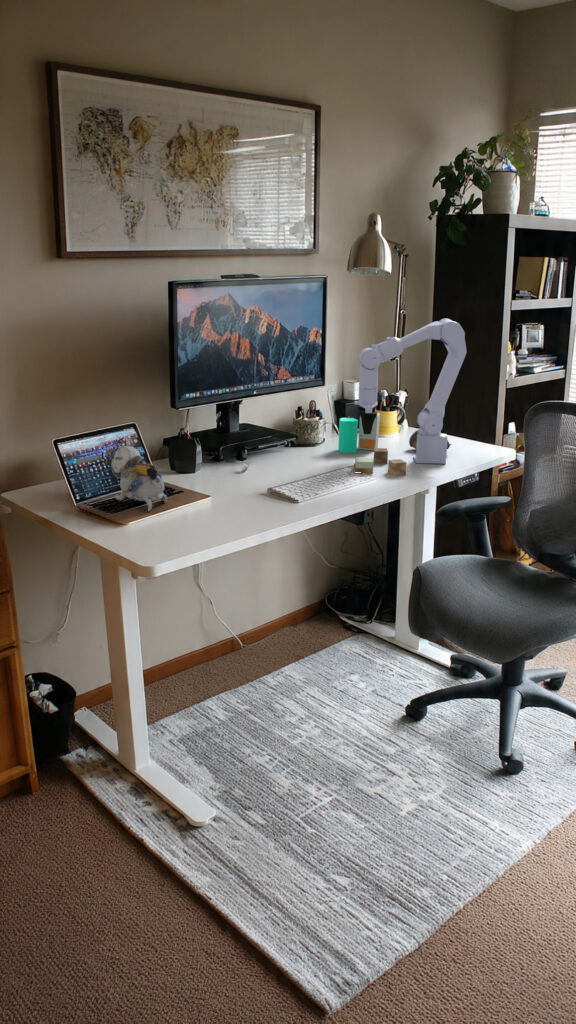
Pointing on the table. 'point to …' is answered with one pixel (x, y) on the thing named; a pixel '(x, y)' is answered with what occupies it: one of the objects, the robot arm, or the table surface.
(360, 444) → the skincare box
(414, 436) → the bison figurine
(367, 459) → the slab top
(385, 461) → the walnut cube
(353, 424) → the candle
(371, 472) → the slab bottom
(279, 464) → the table surface
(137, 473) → the robotic toy
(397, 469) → the oak cube
